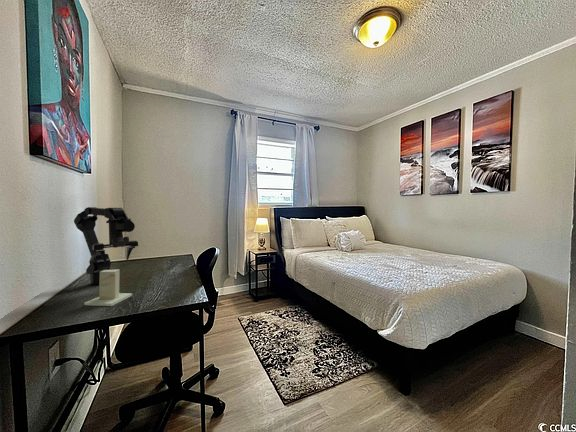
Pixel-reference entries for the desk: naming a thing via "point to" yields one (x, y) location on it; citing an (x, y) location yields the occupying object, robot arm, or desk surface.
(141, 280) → the desk surface
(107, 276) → the skincare box
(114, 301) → the sage tile
